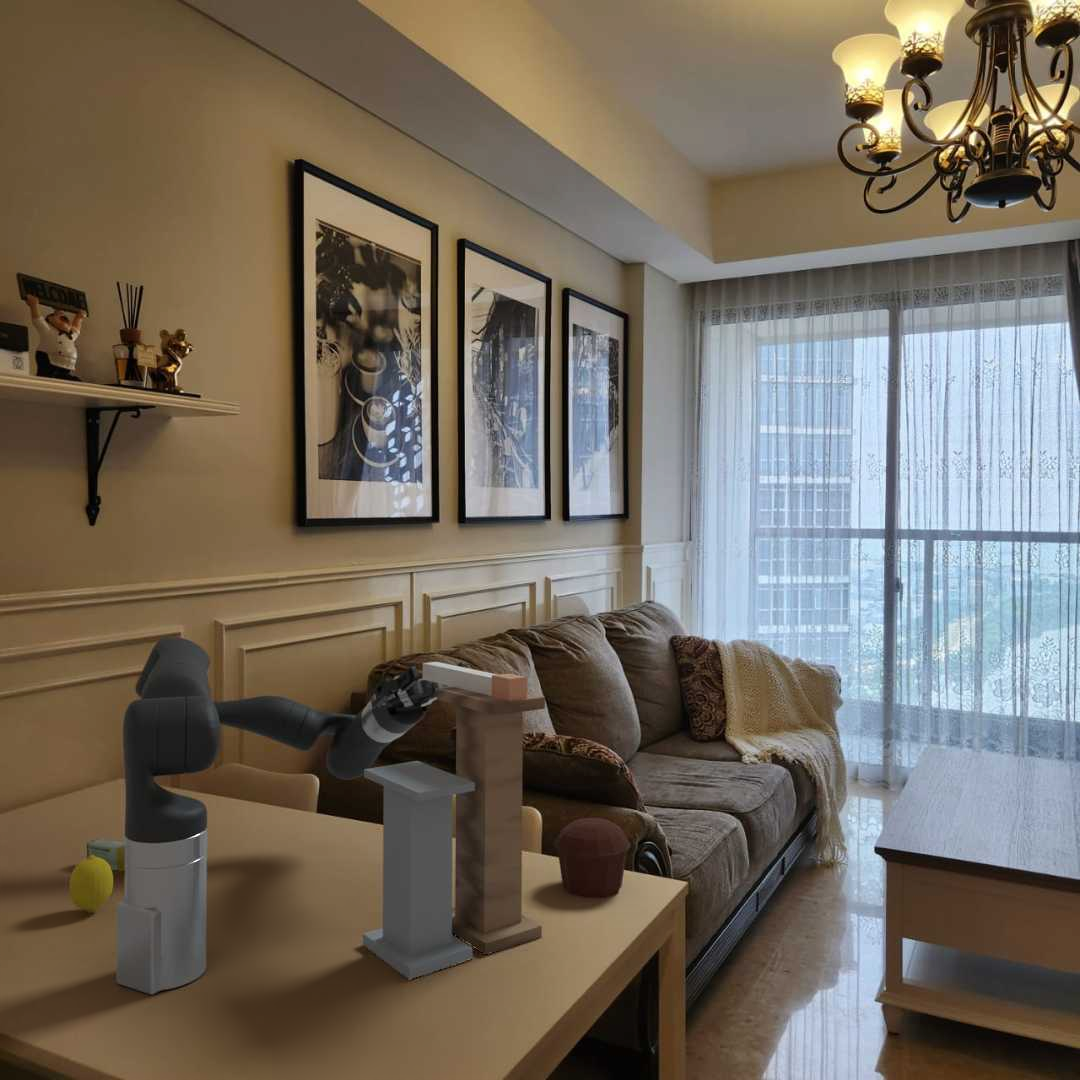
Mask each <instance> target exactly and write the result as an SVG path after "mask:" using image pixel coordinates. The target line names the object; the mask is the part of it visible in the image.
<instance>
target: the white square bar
mask: <svg viewBox="0 0 1080 1080" xmlns="http://www.w3.org/2000/svg"><path fill="white" fill-rule="evenodd" d="M422 679H423V680H427V681H431V682H433V683H436V684H438V683H440V684H444V685H448V686H452V687H456V688H460V689H465V690H469V691H473V692H477V693H481V694H485V695H489V696H492V697H496V698H500V699H504V700H508V701H512V700H520V699H527V693H528V677H527V676H523V675H518V674H513V673H500V674H497V673H492V672H487V671H484V670H477V669H474V668H469V667H468V668H464V667H459V666H457V665H455V664H454V665H453V664H449V663H445V662H439V661H430V662H429V661H428V662H423V663H422Z"/></svg>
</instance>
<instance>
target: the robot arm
mask: <svg viewBox="0 0 1080 1080" xmlns="http://www.w3.org/2000/svg"><path fill="white" fill-rule="evenodd" d="M210 663H211V660H210V656H209V654H208V653H207V651H206V650H205V649H203V647H202V646H200V645H199V644H197V643H196V642H194V641H191V640H189V639H186V638H183V637H177V636H176V637H175V636H168V637H164V638H162V639H160V640H159V641H157V642H156V643H155V645H154V647H152V650H151V651H150V654H149V656H148V658H147V660H146V662H145V663H144V666H143V668H142V671H141V673H140V674H139V677H138V679H137V681H136V683H135V688H134V689H135V690H134V691H135V693H136V694H137V696H139V698H140V699H136V700H135V699H134V700H132V701H131V702H130V703H129V704H128V706H127V708H126V711H125V713H124V718H123V723H122V725H123V726H122V746H123V762H124V780H125V781H124V782H125V783H124V785H125V813H124V815H125V818H124V843H125V872H124V882H123V883H124V886H123V887H124V896H123V899H124V900H121V901H119V902H118V903H117V905H116V973H115V974H116V980H115V982H116V984H119V985H121V986H125V987H127V988H131V989H134V990H137V991H139V992H143V993H145V994H148V995H155V994H156V993H158V992H160V991H165V990H171V989H175V988H179V987H181V986H185V985H187V984H190V983H191V982H193V981H196V980H197V979H199V978H200V977H201V976H202V975H203V974H204V973H205V971H206V969H207V910H208V909H207V903H208V901H207V900H208V899H207V897H208V896H207V895H208V893H207V891H208V886H207V885H208V884H207V881H208V879H207V878H208V876H207V875H208V809H207V806H206V805H205V804H204V802H203V801H201V800H199V799H197V798H194V797H190V796H187V795H182V794H178V793H175V792H172V791H170V790H168V789H166V788H164V787H162V786H160V785H159V784H158V783H157V782H156V781H155V780H154V777H163V776H173V775H175V776H176V775H187V774H195V773H199V772H203V771H205V770H207V769H209V768H210V767H211V766H212V765H213V764H214V762H215V761H216V760H217V757H218V754H219V753H220V747H221V739H222V735H221V734H222V733H221V732H222V730H221V726H226V727H230V728H235V729H239V730H242V731H243V730H244V731H247V732H249V733H253V734H256V735H259V736H262V737H265V738H268V739H270V740H273V741H275V742H278V743H280V744H283V745H285V746H288V747H291V748H293V749H296V750H298V751H303V752H308V751H310V750H311V749H312V748H313V747H314V746H315V744H316V743H317V742H318V740H319V739H320V737H322V736H325V735H330V736H331V735H332V736H333V737H332V741H331V742H330V746H329V748H328V750H327V754H326V757H325V765H326V768H327V769H328V771H329V772H330V773H331V775H333V776H334V777H336V778H338V779H340V780H346V781H348V780H350V781H351V780H355V779H358V778H360V777H362V776H364V769H369V768H372V766H373V765H374V763H375V762H376V761H377V759H378V757H379V755H380V754H381V752H382V751H383V749H384V748H386V747H387V746H388V745H390V744H391V743H393V742H394V740H396V739H399V738H400V737H402V736H403V735H404V734H406V733H407V732H408V731H409V730H410V729H412V728H413V727H414V726H416V724H418V723H419V722H420V721H421V720H422V719H424V717H425V715H426V714H427V710H428V707H429V705H431V704H432V703H433V702H434V701H436V700H437V689H440V688H449V687H452V686H448V685H444V684H440V683H437V686H438V688H437V687H436V685H435V684H434V683H435V682H431V681H427V680H423V678H420V677H419V672H418V670H417V667H416V666H415V665H414V666H410V667H408V668H407V669H406V670H405V671H403V672H402V673H401V674H400V675H395V676H394V677H393V680H390V679H389V678H383V679H381V680H380V681H379V682H378V683H377V684H376V685H375V686H374V687H373V688H372V689H371V691H370V692H369V693H368V696H369V702H368V703H367V704H366V706H364V707H363V709H361V711H359V713H357V715H356V714H349V713H348V714H346V713H336V712H329V711H325V710H318V709H315V708H312V707H309V706H307V705H304V704H303V703H302V704H301V703H299V702H297V701H295V700H293V699H292V700H291V699H290V698H287V697H283V696H279V695H278V696H277V695H261V696H253V697H249V698H242V699H235V700H224V701H221V700H219V701H217V700H213V699H212V691H211V687H210V686H211V685H210V683H209V678H208V669H209V667H210ZM456 666H459V667H464V668H469V667H468V664H467V662H466V661H460V662H459V663H457V665H456ZM437 701H438V700H437Z"/></svg>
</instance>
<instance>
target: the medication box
mask: <svg viewBox="0 0 1080 1080" xmlns="http://www.w3.org/2000/svg"><path fill="white" fill-rule="evenodd" d="M91 855H94V856H95V857H98V858H101V859H104V860H105V861H106V862H107V863H108V864H109V865H110V867H111V869H115V870H120V871H119V872H121V871H125V841H123V842H122V841H117V840H109V839H105V838H104V839H103V838H99V837H98V838H95V839H94V840H91V841H89V842H87V843H86V859H87V858H88V857H89V856H91ZM115 870H114V871H115Z"/></svg>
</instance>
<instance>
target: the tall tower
mask: <svg viewBox="0 0 1080 1080" xmlns="http://www.w3.org/2000/svg"><path fill="white" fill-rule="evenodd" d="M436 689H437V701H441V702H442V703H443V702H444V703H448V704H452V705H455V706H456V714H455V716H456V717H455V718H456V719H455V721H456V724H455V725H456V726H455V727H456V731H455V733H456V739H455V740H456V742H455V743H456V744H455V748H456V749H455V750H456V751H455V755H456V756H455V757H456V758H455V759H456V760H455V770H456V771H455V775H456V776H459V777H462V778H464V779H467V780H469V781H472V782H475V791H470V792H465V793H460V794H455V858H454V859H455V860H454V861H455V868H454V869H455V870H454V871H455V873H454V877H455V878H454V879H455V881H454V883H455V885H454V893H455V894H454V895H455V897H454V898H455V899H454V907H452V935H453V934H454V935H456V936H458V937H459V938H461V939H463V940H464V941H466V942H468V943H470V944H471V945H472V946H474V947H476V948H477V949H479V950H480V951H482V952H483V953H485V954H488V953H490V952H494V953H497V952H496V951H498V952H500V951H503V950H506V949H510V948H512V947H516V946H519V945H522V944H524V943H528V942H531V941H534V940H537V939H541V938H542V935H543V933H542V930H543V927H542V925H541V924H539V923H538V922H536V921H534V920H532V919H530V918H528V917H527V916H525V915H523V914H522V904H523V903H522V898H523V897H522V895H523V894H522V892H523V891H522V890H523V889H522V888H523V886H522V885H523V883H522V880H523V878H522V877H523V876H522V874H523V873H522V872H523V871H522V870H523V869H522V868H523V865H522V864H523V761H524V760H523V751H524V750H523V749H524V748H523V747H524V745H523V743H524V742H523V741H524V740H523V739H524V738H523V735H524V732H523V731H524V727H523V726H524V712H529V711H537V710H544V709H546V697H545V696H542V695H537V694H533V693H529V692H527V699H520V700H512V701H508V700H504V699H500V698H496V697H492V696H489V695H485V694H481V693H477V692H473V691H469V690H465V689H460V688H456V687H449V688H440V689H439V688H436ZM454 935H453V936H454ZM456 936H455V937H456ZM459 938H458V939H459ZM461 939H460V940H461ZM464 941H463V942H464ZM472 946H471V947H472ZM483 953H482V954H483ZM488 955H489V954H488Z"/></svg>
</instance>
